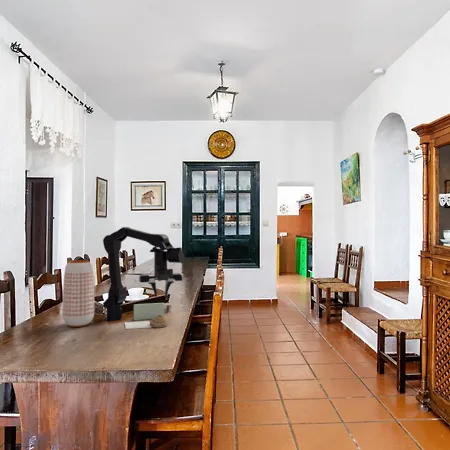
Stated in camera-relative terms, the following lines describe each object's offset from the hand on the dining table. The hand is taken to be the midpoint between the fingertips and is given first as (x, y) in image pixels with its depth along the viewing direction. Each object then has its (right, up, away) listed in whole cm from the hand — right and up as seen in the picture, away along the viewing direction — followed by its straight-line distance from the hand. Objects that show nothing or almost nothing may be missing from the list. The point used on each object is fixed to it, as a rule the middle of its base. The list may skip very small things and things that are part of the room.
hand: (160, 296), depth 174 cm
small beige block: (-1, -12, +23) cm, 26 cm away
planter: (-36, -12, -3) cm, 38 cm away
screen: (-7, -12, +8) cm, 16 cm away
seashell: (+1, -12, 0) cm, 12 cm away
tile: (-9, -12, -4) cm, 15 cm away
